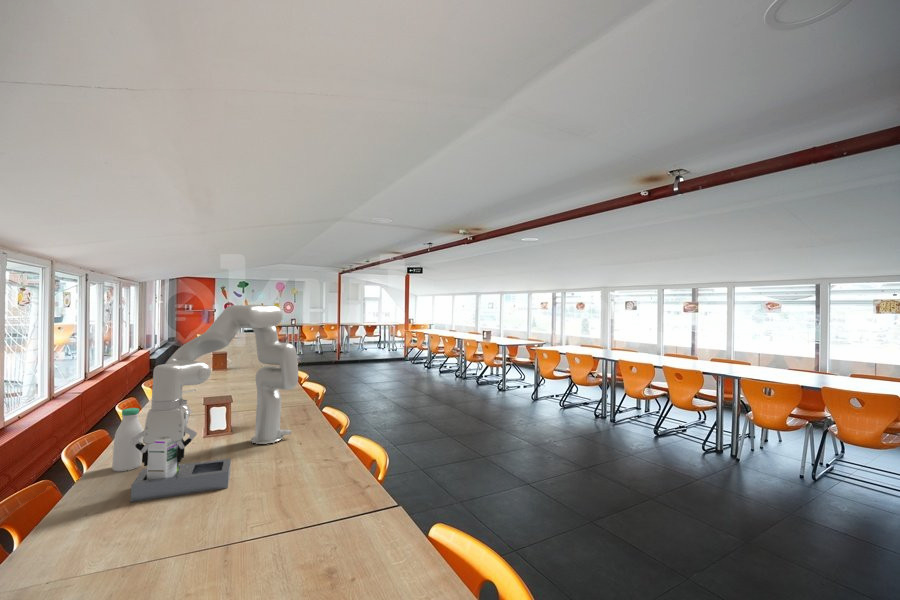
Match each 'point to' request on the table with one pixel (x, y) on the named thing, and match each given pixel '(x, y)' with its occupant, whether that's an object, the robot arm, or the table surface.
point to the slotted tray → (183, 481)
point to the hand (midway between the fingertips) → (163, 462)
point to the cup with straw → (187, 408)
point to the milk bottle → (127, 442)
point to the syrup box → (162, 459)
